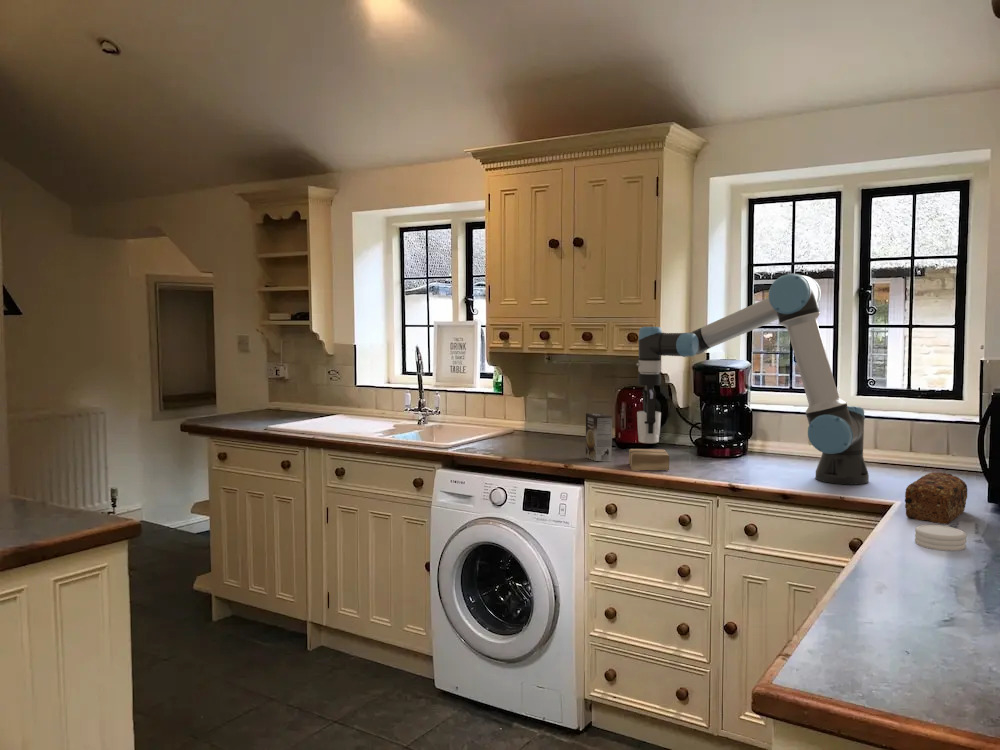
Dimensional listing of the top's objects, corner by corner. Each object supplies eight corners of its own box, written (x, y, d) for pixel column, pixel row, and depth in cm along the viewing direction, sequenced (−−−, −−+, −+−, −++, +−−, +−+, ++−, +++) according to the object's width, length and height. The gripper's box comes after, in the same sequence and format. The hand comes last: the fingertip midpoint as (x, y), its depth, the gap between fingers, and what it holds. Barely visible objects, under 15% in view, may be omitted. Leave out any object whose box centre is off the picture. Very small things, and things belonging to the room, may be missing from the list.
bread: (924, 505, 217) (925, 468, 216) (969, 512, 209) (970, 474, 209) (902, 518, 203) (903, 479, 202) (949, 526, 196) (950, 485, 195)
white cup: (660, 444, 267) (660, 413, 266) (636, 443, 268) (636, 413, 267) (660, 440, 274) (661, 411, 273) (637, 439, 276) (637, 410, 275)
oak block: (669, 470, 265) (669, 455, 265) (632, 470, 266) (632, 454, 266) (664, 464, 277) (664, 449, 277) (628, 463, 278) (629, 448, 278)
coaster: (969, 554, 173) (970, 538, 173) (917, 549, 176) (918, 533, 176) (961, 541, 182) (961, 526, 182) (911, 537, 186) (912, 522, 186)
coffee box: (584, 457, 290) (585, 413, 289) (601, 456, 292) (601, 412, 291) (595, 462, 281) (595, 416, 280) (612, 461, 283) (612, 415, 282)
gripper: (635, 370, 280) (634, 436, 281) (641, 375, 260) (640, 445, 261) (657, 371, 279) (656, 436, 281) (665, 375, 259) (663, 446, 261)
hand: (648, 441), depth 271 cm, fingers closed on white cup, 7 cm apart
